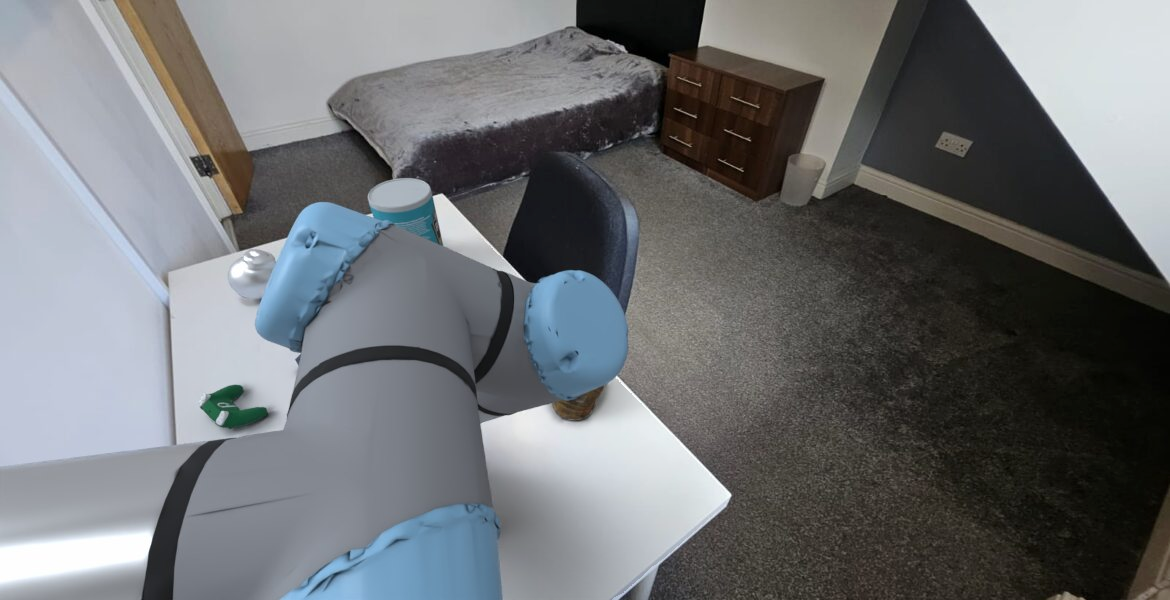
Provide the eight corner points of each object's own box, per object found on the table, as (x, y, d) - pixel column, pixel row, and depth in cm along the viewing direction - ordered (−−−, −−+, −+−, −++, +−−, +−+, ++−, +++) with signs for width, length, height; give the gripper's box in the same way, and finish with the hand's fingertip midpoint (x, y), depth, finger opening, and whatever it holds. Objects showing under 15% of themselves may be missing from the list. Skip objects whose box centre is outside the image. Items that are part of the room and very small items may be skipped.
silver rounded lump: (288, 303, 94) (267, 263, 87) (235, 311, 92) (209, 271, 85) (296, 276, 100) (276, 237, 94) (246, 283, 98) (223, 243, 92)
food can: (457, 258, 106) (443, 186, 94) (420, 288, 98) (400, 213, 86) (417, 244, 110) (398, 172, 98) (378, 271, 102) (353, 197, 90)
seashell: (567, 360, 84) (567, 328, 79) (615, 379, 81) (619, 347, 76) (535, 407, 76) (533, 375, 71) (587, 430, 73) (588, 398, 68)
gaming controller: (232, 403, 78) (190, 405, 72) (241, 382, 77) (200, 383, 72) (262, 431, 74) (220, 436, 68) (271, 409, 74) (230, 412, 68)
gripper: (400, 548, 31) (313, 541, 45) (565, 319, 47) (462, 368, 62) (311, 475, 29) (250, 492, 43) (516, 263, 46) (422, 327, 60)
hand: (375, 419), depth 53 cm, fingers open, 12 cm apart
